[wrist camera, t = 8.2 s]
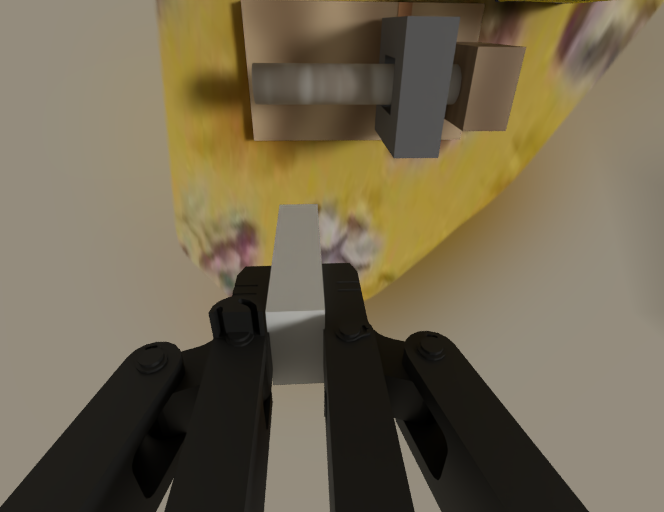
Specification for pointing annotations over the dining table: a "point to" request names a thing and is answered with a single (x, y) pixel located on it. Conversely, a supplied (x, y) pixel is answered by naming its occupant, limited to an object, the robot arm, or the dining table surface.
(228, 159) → the dining table surface
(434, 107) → the dark grey flat block
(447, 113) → the pipe rig
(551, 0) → the supplement box
